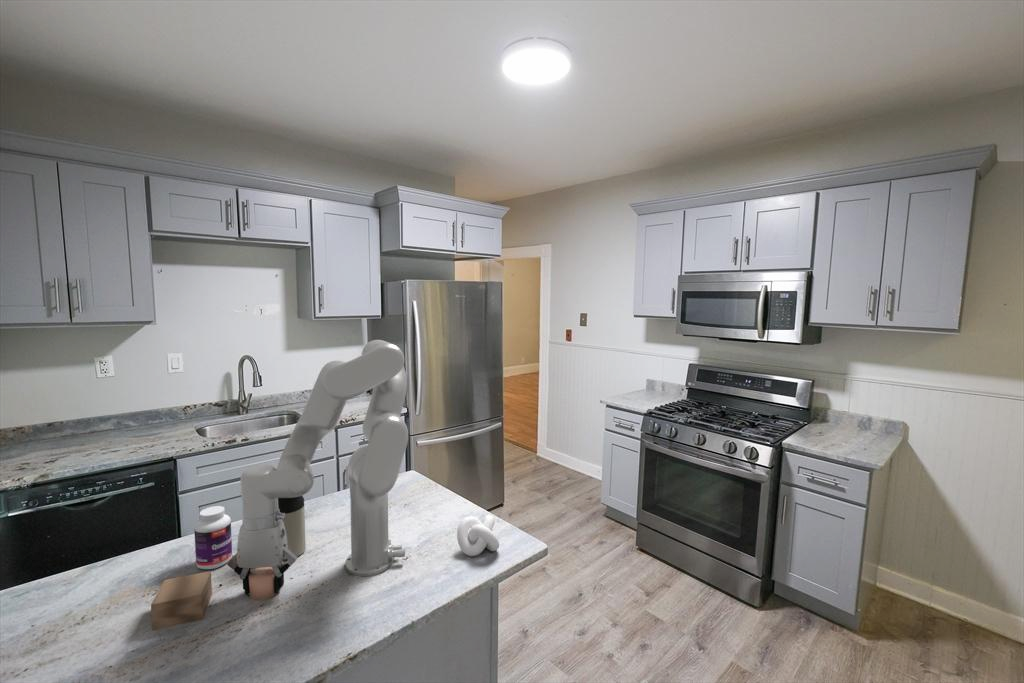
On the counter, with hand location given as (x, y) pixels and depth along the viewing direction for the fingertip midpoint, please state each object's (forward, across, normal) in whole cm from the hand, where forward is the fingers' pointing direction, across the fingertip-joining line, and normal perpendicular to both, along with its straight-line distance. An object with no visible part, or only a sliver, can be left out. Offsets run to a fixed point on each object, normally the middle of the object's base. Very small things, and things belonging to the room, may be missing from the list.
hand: (263, 589), depth 108 cm
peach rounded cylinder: (+1, 0, 0) cm, 1 cm away
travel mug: (+1, 0, -17) cm, 17 cm away
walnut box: (+1, +15, +5) cm, 16 cm away
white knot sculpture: (+1, -53, -13) cm, 55 cm away
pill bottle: (+1, +18, -14) cm, 23 cm away
